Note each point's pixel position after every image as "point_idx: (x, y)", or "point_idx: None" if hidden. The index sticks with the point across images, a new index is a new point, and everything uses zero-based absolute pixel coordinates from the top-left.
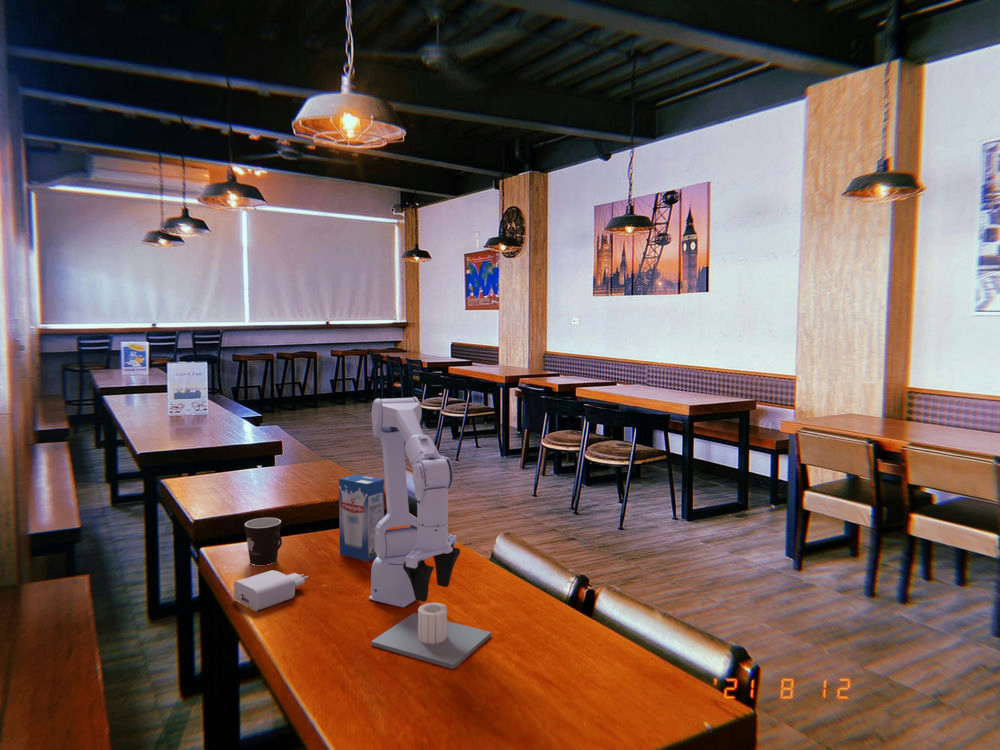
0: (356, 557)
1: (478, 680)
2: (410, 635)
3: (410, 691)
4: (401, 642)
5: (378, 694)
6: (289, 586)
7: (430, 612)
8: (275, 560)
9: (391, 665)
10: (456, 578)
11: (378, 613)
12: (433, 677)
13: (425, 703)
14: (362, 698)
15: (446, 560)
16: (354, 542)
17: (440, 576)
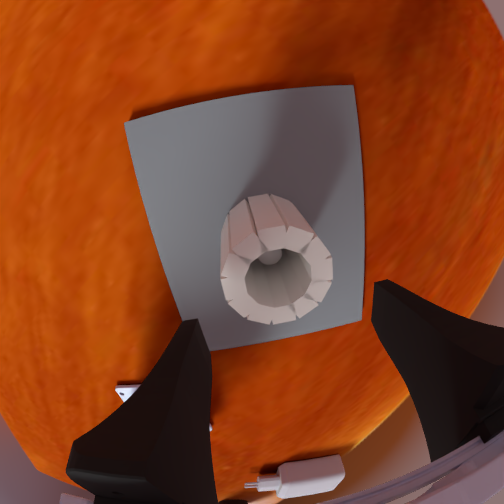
0: None
1: (347, 11)
2: None
3: (453, 123)
4: (334, 272)
5: (477, 170)
6: (295, 477)
7: (309, 263)
8: (225, 502)
9: (405, 223)
10: (32, 376)
11: (239, 393)
12: (399, 109)
13: (462, 76)
14: (490, 186)
15: (184, 443)
16: None
17: (204, 379)
